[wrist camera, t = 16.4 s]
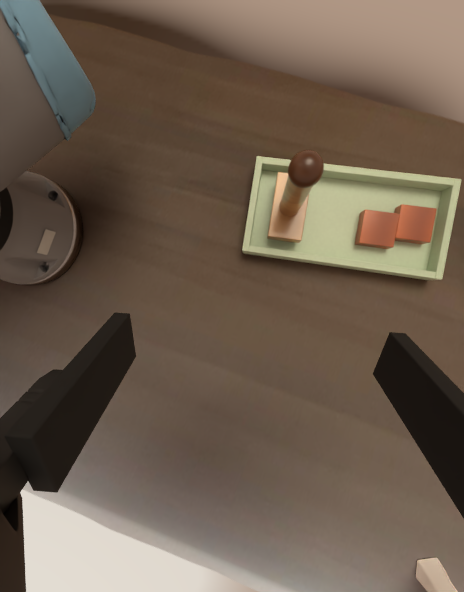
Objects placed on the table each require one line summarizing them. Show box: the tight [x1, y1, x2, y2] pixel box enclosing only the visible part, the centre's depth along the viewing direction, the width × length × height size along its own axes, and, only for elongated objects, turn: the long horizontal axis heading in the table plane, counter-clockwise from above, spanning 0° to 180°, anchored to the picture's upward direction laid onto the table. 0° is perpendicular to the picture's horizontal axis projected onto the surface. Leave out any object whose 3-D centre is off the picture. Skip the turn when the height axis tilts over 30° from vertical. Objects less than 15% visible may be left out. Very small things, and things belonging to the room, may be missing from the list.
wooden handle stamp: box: [267, 150, 324, 243], centre depth 26 cm, size 4×8×13 cm, turn 171°
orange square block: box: [394, 204, 437, 244], centre depth 30 cm, size 4×4×2 cm
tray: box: [242, 156, 461, 280], centre depth 31 cm, size 24×12×2 cm, turn 81°
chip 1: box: [355, 209, 400, 249], centre depth 31 cm, size 4×4×2 cm
